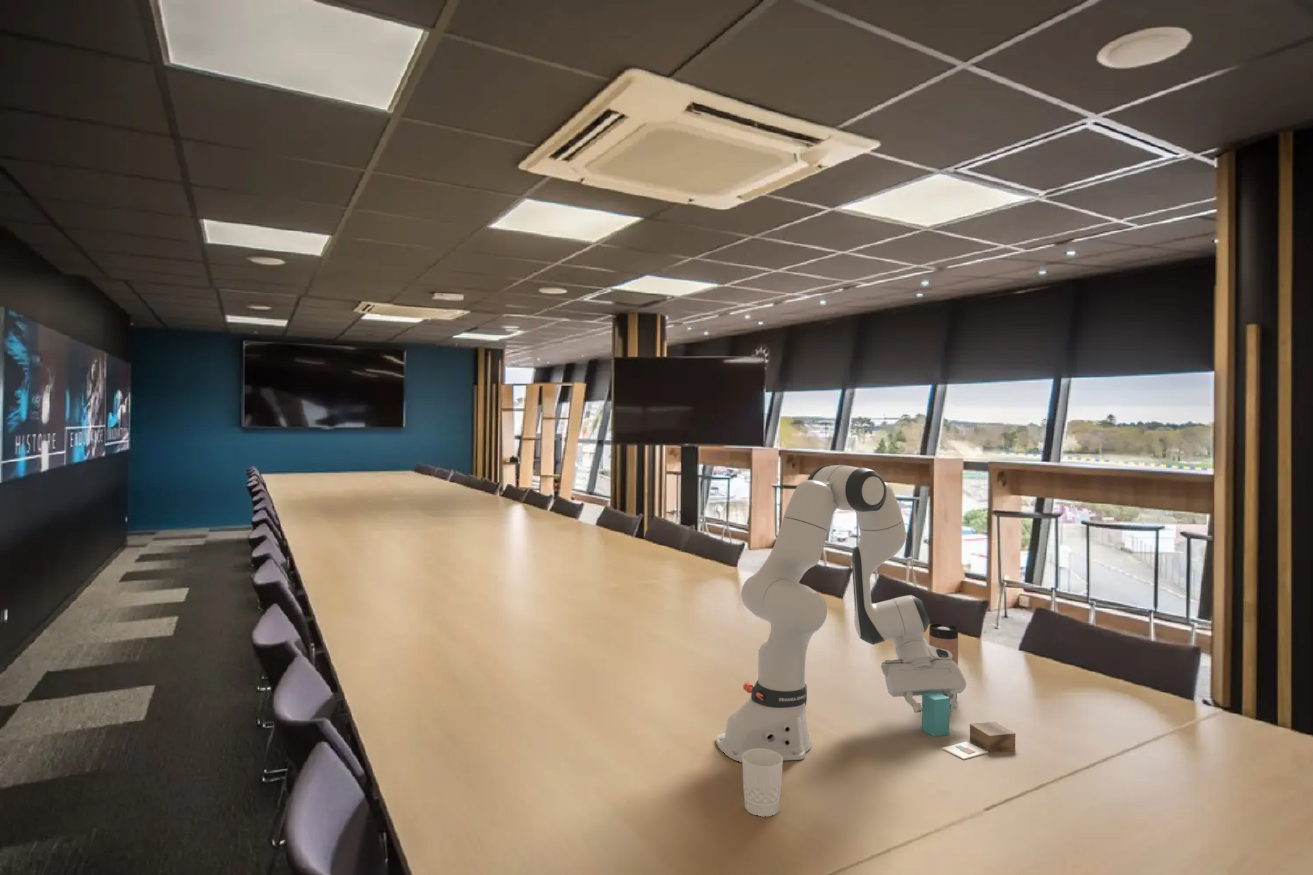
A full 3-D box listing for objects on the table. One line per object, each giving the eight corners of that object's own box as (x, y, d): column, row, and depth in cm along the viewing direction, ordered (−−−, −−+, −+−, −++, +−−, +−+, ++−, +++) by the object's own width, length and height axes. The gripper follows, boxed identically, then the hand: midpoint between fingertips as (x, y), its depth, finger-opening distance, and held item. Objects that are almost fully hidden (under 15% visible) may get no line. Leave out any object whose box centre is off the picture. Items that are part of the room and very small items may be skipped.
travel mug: (940, 704, 193) (940, 631, 193) (922, 694, 200) (923, 624, 200) (963, 701, 195) (964, 629, 195) (945, 691, 202) (946, 622, 202)
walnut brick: (989, 752, 164) (989, 735, 164) (969, 740, 170) (969, 723, 170) (1015, 750, 165) (1015, 733, 165) (995, 737, 172) (995, 721, 172)
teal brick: (934, 736, 172) (934, 699, 172) (921, 729, 176) (922, 693, 176) (949, 734, 173) (949, 697, 173) (936, 727, 177) (936, 691, 177)
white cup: (777, 797, 142) (778, 748, 142) (786, 818, 134) (786, 766, 134) (738, 797, 142) (739, 748, 142) (745, 819, 134) (745, 766, 134)
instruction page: (963, 759, 159) (963, 757, 159) (942, 749, 165) (942, 747, 165) (987, 752, 163) (987, 751, 163) (965, 742, 168) (965, 740, 168)
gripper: (883, 654, 180) (901, 707, 171) (956, 651, 183) (978, 702, 174) (874, 666, 185) (892, 718, 175) (946, 662, 188) (968, 713, 178)
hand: (936, 710), depth 174 cm, fingers open, 8 cm apart
